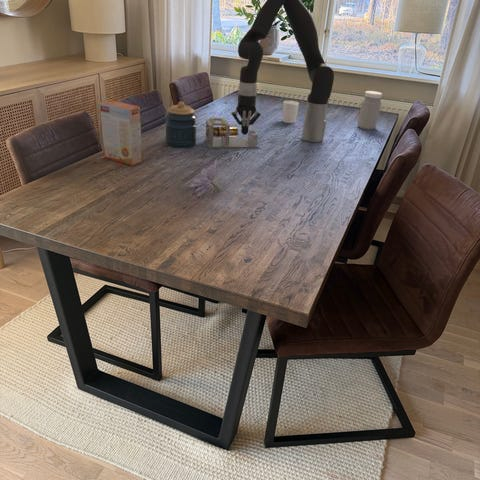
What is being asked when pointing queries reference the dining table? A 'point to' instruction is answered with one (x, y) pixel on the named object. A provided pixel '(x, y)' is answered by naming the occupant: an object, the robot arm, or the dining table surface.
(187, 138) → the canister
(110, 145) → the cracker box
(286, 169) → the dining table surface
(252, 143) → the collar stand
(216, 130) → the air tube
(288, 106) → the white cup
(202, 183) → the water lily
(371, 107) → the jar
